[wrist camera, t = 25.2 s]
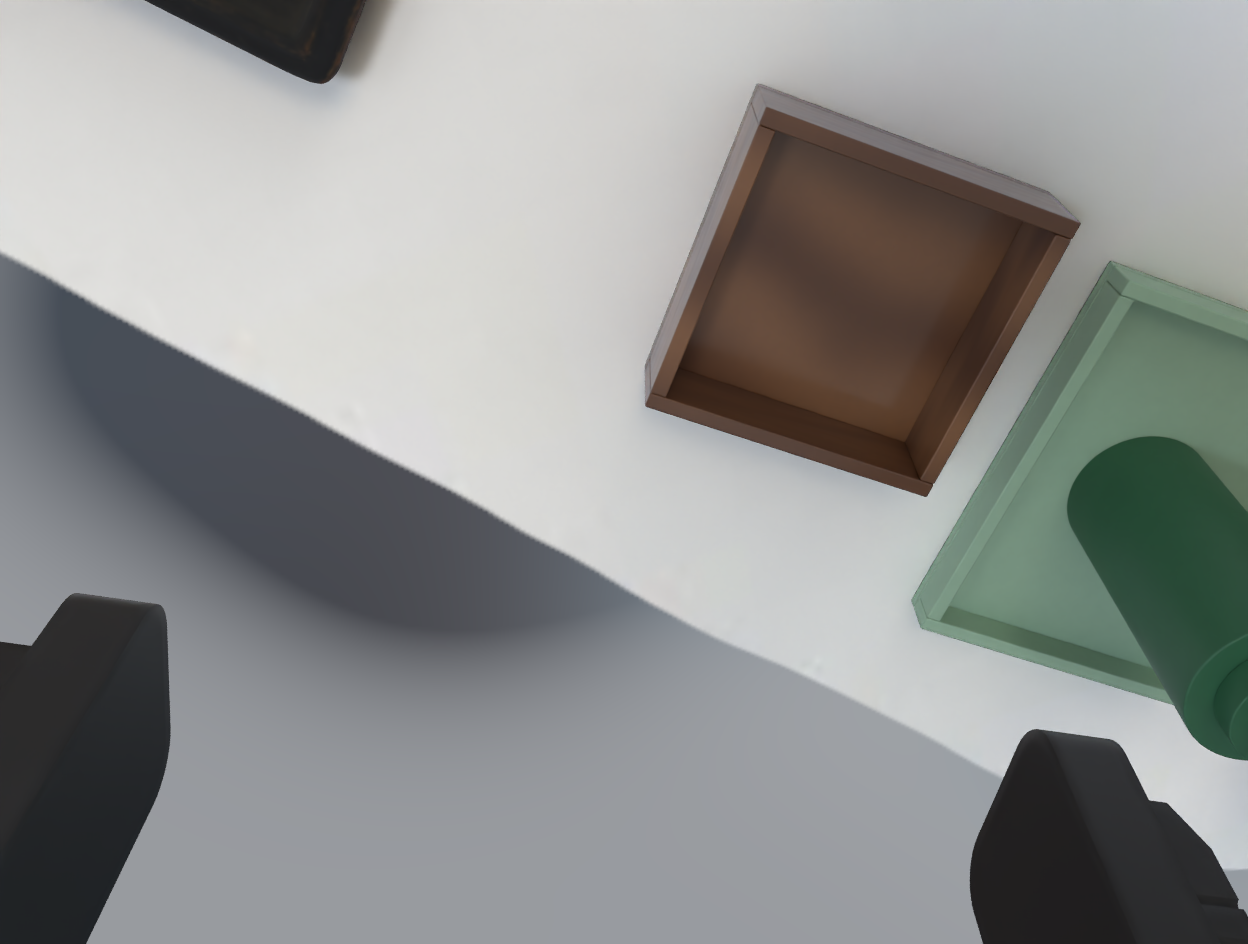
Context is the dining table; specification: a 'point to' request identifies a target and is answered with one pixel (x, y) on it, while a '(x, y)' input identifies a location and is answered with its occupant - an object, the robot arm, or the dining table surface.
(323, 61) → the religious icon
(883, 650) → the dining table surface
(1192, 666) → the green bottle
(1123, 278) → the tray
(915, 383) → the crate
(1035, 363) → the dining table surface
